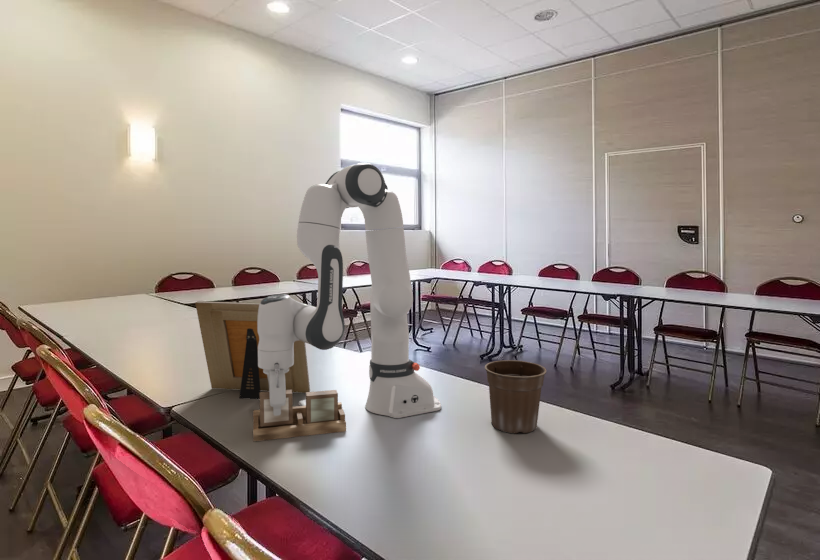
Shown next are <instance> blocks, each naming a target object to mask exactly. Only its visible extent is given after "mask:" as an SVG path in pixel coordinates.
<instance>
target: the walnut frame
mask: <svg viewBox="0 0 820 560" xmlns="http://www.w3.org/2000/svg"><path fill="white" fill-rule="evenodd" d="M293 404H294V403H293V392H292V390H286V403H285V405H284V406H281V414H280V415H277V416H275V415H274V414H273V407H271V406H270V398H269V391H261V392H260V399H259V410H260V427H263V426H273V425H283V424H293V407H294V406H293Z"/></svg>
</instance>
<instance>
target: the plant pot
mask: <svg viewBox="0 0 820 560" xmlns="http://www.w3.org/2000/svg"><path fill="white" fill-rule="evenodd" d="M484 370H485V371H486V381H487V383H488V392H489V393H488V394H489V403H490V404H489V405H490V406H489V407H490V419H491V420H490V421H491V423H490V424H491V425H493V427H494V428H495V429H496V430H499V431H501V432H504V433H510V434H518V433H523V434H528V433H532V432H533V431H535V430H536V429H537V426H538V420H539V412H540V411H539V410H540V404H541V403H540V402H541V394H542V387H543V386H544V380H545V375H546V374H547V369H546V367H545V366H543V365H541V364H538V363H534V362H530V361H524V360H512V359H510V360H508V359H506V360H496V361H490V362H488V363H486V364H485V365H484Z"/></svg>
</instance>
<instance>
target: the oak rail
mask: <svg viewBox="0 0 820 560" xmlns="http://www.w3.org/2000/svg"><path fill="white" fill-rule="evenodd" d="M252 413H253V416H252V417H253V421H252V422H253V423H252V425H253V429H252V431H253V434H252V435H253V437H252V438H253V439H252V441H253V442H259V441H260V442H261V441H269V440H280V439H289V438H296V437H297V438H298V437H305V436H306V437H307V436H308V437H309V436H316V435H317V436H318V435H323V434H324V435H325V434H333V433H342V432H347V421H346V414H345V411H344V409H343V404H342V402H339V401H338V421H329V422H320V423H310V424H306V406H300V405H297V406H293V424H283V425H273V426H263V427H260V409H254V410H253V411H252Z"/></svg>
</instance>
